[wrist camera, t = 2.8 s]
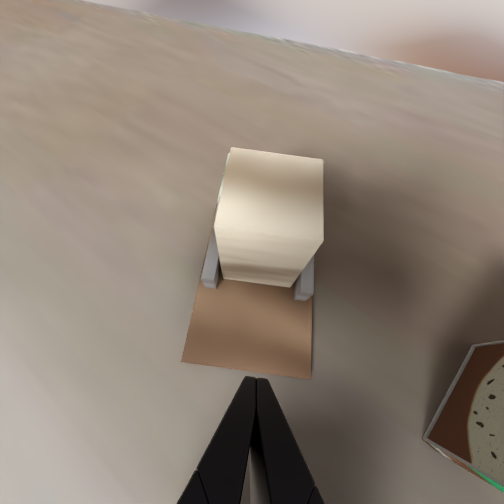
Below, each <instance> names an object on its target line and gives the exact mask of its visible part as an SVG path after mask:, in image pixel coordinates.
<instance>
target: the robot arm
mask: <svg viewBox="0 0 504 504" xmlns="http://www.w3.org/2000/svg"><path fill="white" fill-rule="evenodd" d="M248 455H249V463H250V503H251V504H324V502H323V499H322V497H321V495H320V493H319V491H318V488H317V487H316V486H315V482H314V480H313V478H312V475H311V473H310V471H309V469H308V467H307V464H306V462H305V460H304V458H303V456H302V453H301V451H300V449H299V447H298V445H297V442H296V440H295V438H294V436H293V434H292V431H291V429H290V427H289V425H288V423H287V420H286V418H285V416H284V414H283V412H282V409H281V407H280V405H279V403H278V401H277V398H276V396H275V394H274V392H273V390H272V388H271V385H270V383H269V381H268V380H267V379H264V378H257V379H256V378H255V377H249V376H245V377H244V379H243V381H242V383H241V385H240V387H239V389H238V390H237V392H236V394H235V396H234V398H233V400H232V402H231V404H230V406H229V407H228V409H227V411H226V413H225V415H224V417H223V419H222V421H221V422H220V424H219V426H218V428H217V430H216V432H215V434H214V436H213V438H212V439H211V441H210V443H209V445H208V447H207V449H206V451H205V453H204V455H203V456H202V458H201V460H200V462H199V464H198V466H197V468H196V470H195V471H194V473H193V475H192V477H191V479H190V481H189V483H188V484H187V486H186V488H185V490H184V491H183V493H182V495H181V497H180V499H179V500H178V502H177V504H240V501H241V496H242V490H243V484H244V478H245V472H246V467H247V461H248Z"/></svg>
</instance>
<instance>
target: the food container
mask: <svg viewBox="0 0 504 504" xmlns="http://www.w3.org/2000/svg"><path fill="white" fill-rule="evenodd" d="M422 439H423V440H424V441H425V442H426V443H427V444H429V445H430V446H431V447H432V448H433V449H434V450H436V451H437V452H439V453H440V454H442V455H443V456H445V457H447V458H448V459H450V460H452V461H453V462H455V463H457V464H458V465H460V466H461V467H463V468H465V469H466V470H468V471H470V472H471V473H473V474H475V475H476V476H478V477H479V478H481V479H483V480H484V481H486V482H488V483H489V484H491V485H493V486H494V487H496V488H497V489H499V490H501V491H502V492H504V340H499V341H493V342H486V343H479V344H473V345H472V346H471V348H470V350H469V352H468V354H467V356H466V358H465V359H464V361H463V363H462V365H461V367H460V369H459V371H458V372H457V374H456V376H455V378H454V380H453V382H452V384H451V386H450V387H449V389H448V391H447V393H446V395H445V397H444V399H443V400H442V402H441V404H440V406H439V408H438V410H437V412H436V413H435V415H434V417H433V419H432V421H431V423H430V425H429V426H428V428H427V430H426V432H425V434H424V436H423V438H422Z"/></svg>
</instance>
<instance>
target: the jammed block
mask: <svg viewBox="0 0 504 504" xmlns="http://www.w3.org/2000/svg"><path fill="white" fill-rule="evenodd" d="M214 230H215V236H216V242H217V247H218V253H219V259H220V265H221V270H222V276H223V279H230V280H237V281H245V282H252V283H259V284H267V285H274V286H282V287H289V288H290V287H291V286H292V284H293V283H294V281H295V280H296V279H297V277H298V276H299V275H300V273H301V272H302V270H303V269H304V268H305V266H306V265H307V263H308V262H309V261H310V259H311V258H312V256H313V255H314V254H315V252H316V251H317V250H318V248H319V247H320V245H321V244H322V243H323V241H324V229H323V160H322V159H315V158H307V157H300V156H293V155H285V154H278V153H270V152H263V151H256V150H248V149H241V148H234V147H231V151H230V156H229V160H228V165H227V169H226V174H225V178H224V183H223V187H222V192H221V196H220V201H219V205H218V210H217V214H216V219H215V223H214Z"/></svg>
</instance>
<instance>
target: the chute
mask: <svg viewBox="0 0 504 504" xmlns="http://www.w3.org/2000/svg"><path fill="white" fill-rule="evenodd" d="M229 156H230V154H229V153H228V157H227V162H226V166H225V170H224V175H223V179H222V184H221V188H220V192H219V197H218V201H217V206H216V210H215V215H214V219H213V223H212V228H211V232H210V237H209V241H208V245H207V250H206V254H205V259H204V263H203V268H202V272H201V276H200V281H199V285H198V290H197V294H196V298H195V303H194V307H193V312H192V316H191V320H190V325H189V329H188V334H187V338H186V343H185V347H184V351H183V356H182V360H181V362H185V363H193V364H200V365H207V366H215V367H222V368H230V369H237V370H244V371H252V372H259V373H266V374H274V375H281V376H288V377H296V378H303V379H310V380H311V337H312V295H313V294H314V255H313V256H312V258H311V259H310V261H309V262H308V263H307V265H306V266H305V268H304V269H303V270H302V272H301V273H300V275H299V276H298V277H297V279H296V280H295V281H294V283H293V284H292V286H291V287H290V288H289V287H282V286H274V285H267V284H259V283H252V282H245V281H237V280H230V279H223V276H222V270H221V265H220V259H219V253H218V247H217V242H216V236H215V230H214V223H215V219H216V214H217V210H218V205H219V201H220V196H221V192H222V187H223V183H224V178H225V174H226V169H227V165H228V160H229Z"/></svg>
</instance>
